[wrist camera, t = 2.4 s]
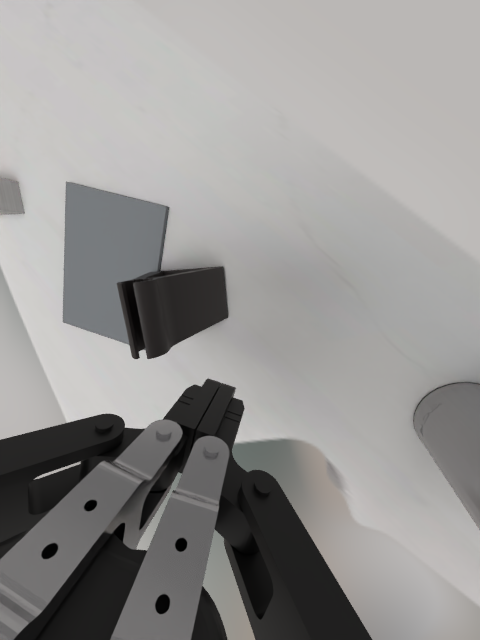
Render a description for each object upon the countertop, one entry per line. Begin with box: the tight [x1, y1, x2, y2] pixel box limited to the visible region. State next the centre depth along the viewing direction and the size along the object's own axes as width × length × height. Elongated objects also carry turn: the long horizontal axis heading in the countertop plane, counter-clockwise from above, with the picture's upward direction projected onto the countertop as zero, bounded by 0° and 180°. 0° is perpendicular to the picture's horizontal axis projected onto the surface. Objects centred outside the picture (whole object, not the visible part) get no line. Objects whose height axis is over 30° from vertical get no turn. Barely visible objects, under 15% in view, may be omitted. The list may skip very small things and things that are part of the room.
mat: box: [63, 182, 169, 350], centre depth 32 cm, size 13×18×1 cm
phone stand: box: [117, 267, 228, 359], centre depth 25 cm, size 9×6×12 cm, turn 94°
